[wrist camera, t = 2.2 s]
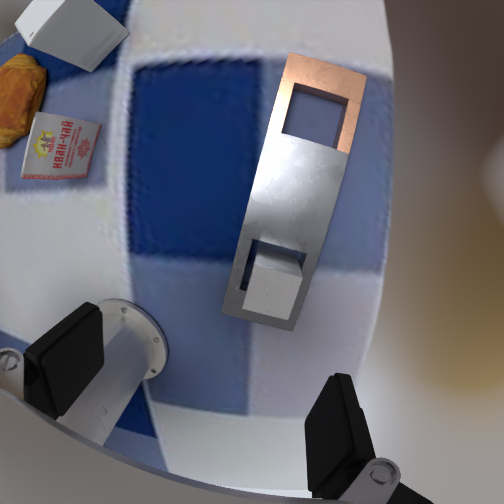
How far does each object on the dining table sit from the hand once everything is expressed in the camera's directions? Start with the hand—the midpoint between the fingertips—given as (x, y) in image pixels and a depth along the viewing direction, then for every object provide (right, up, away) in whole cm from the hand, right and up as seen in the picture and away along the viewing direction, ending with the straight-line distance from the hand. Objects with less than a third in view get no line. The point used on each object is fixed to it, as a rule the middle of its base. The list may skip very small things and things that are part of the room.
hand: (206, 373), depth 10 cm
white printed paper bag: (-19, +18, +19) cm, 32 cm away
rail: (+6, +11, +19) cm, 22 cm away
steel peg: (+4, +3, +21) cm, 21 cm away
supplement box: (-18, +32, +15) cm, 40 cm away
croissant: (-34, +28, +18) cm, 47 cm away
